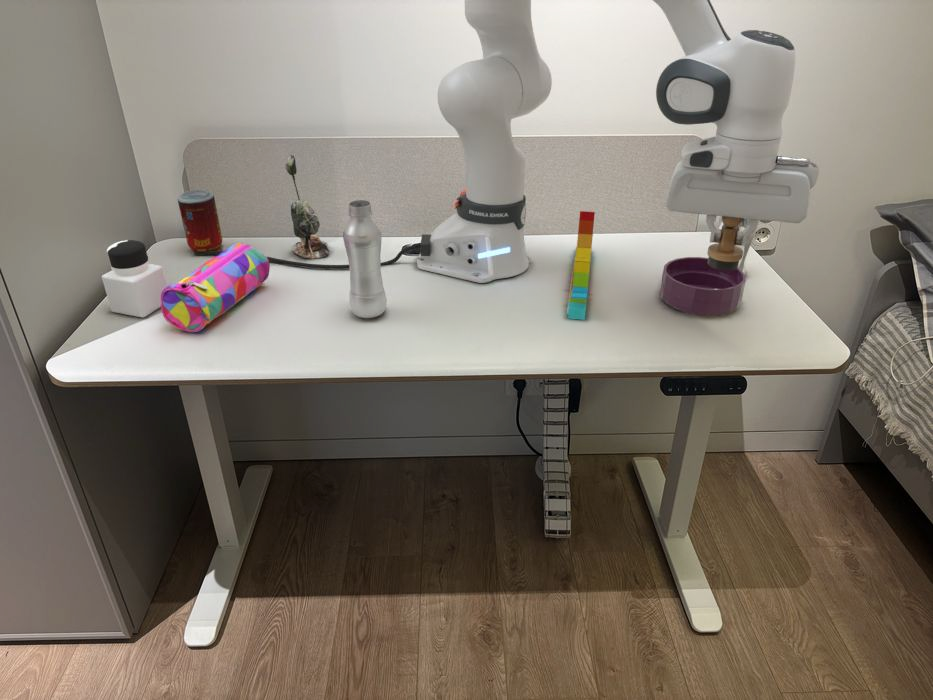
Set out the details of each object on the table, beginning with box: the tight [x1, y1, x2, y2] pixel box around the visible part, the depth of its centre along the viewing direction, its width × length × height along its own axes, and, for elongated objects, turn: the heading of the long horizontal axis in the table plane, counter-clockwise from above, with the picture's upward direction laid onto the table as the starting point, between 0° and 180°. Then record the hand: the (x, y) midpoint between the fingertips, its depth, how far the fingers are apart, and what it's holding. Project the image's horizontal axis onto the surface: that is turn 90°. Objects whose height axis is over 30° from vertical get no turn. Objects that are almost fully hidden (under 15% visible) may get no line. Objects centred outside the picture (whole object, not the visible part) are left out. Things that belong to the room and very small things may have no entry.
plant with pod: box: [284, 154, 331, 260], centre depth 140 cm, size 8×11×20 cm
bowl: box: [659, 256, 747, 317], centre depth 125 cm, size 14×14×6 cm
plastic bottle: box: [342, 199, 388, 319], centre depth 117 cm, size 6×7×20 cm
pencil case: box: [160, 242, 271, 333], centre depth 122 cm, size 22×9×9 cm, turn 163°
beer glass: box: [717, 216, 760, 275], centre depth 133 cm, size 7×7×15 cm
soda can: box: [177, 189, 223, 256], centre depth 144 cm, size 7×7×12 cm
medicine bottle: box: [101, 239, 168, 319], centre depth 122 cm, size 7×7×12 cm
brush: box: [707, 216, 743, 271], centre depth 108 cm, size 5×5×9 cm
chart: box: [566, 210, 596, 321], centre depth 129 cm, size 30×3×15 cm, turn 169°
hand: (726, 242), depth 108 cm, fingers closed on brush, 2 cm apart
